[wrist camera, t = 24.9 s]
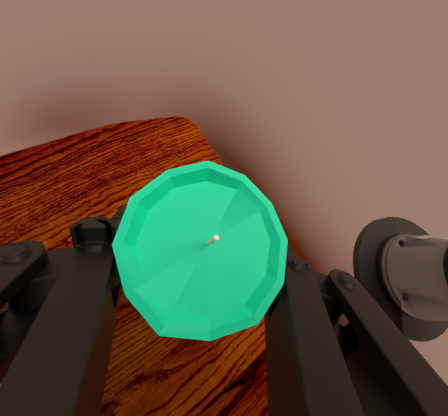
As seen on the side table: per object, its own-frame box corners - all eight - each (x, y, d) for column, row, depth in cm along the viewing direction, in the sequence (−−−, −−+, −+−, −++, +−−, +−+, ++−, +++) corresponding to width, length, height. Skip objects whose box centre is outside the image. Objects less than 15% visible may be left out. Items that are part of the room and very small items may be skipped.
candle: (161, 219, 16) (102, 126, 5) (226, 219, 17) (302, 145, 6) (158, 291, 15) (56, 408, 3) (229, 285, 16) (340, 356, 4)
